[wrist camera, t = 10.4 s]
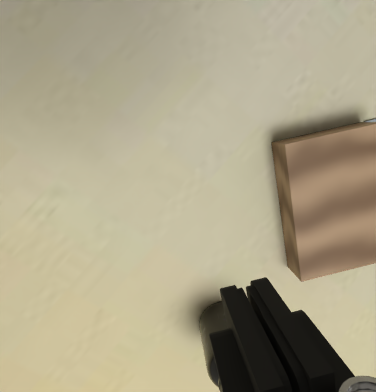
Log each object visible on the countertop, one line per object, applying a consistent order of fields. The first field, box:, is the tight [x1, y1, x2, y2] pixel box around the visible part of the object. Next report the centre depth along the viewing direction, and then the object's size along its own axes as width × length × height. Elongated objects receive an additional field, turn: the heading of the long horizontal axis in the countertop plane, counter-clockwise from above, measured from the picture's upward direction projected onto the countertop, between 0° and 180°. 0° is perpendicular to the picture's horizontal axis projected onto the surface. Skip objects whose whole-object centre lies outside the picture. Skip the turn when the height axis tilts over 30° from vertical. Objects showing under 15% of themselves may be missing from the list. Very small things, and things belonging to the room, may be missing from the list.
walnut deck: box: [271, 122, 376, 282], centre depth 37 cm, size 18×12×4 cm, turn 12°
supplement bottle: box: [199, 302, 228, 392], centre depth 36 cm, size 7×7×12 cm
